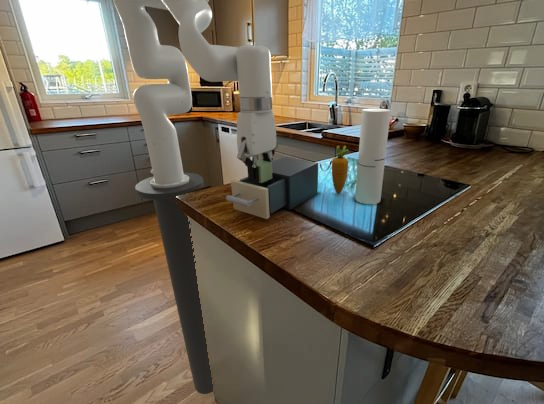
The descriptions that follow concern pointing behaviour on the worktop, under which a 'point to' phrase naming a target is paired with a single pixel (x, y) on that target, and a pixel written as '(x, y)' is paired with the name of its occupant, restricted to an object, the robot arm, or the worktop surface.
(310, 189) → the cabinet
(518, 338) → the worktop surface
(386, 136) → the cylindrical container
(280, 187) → the drawer
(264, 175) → the block
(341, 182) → the carrot
